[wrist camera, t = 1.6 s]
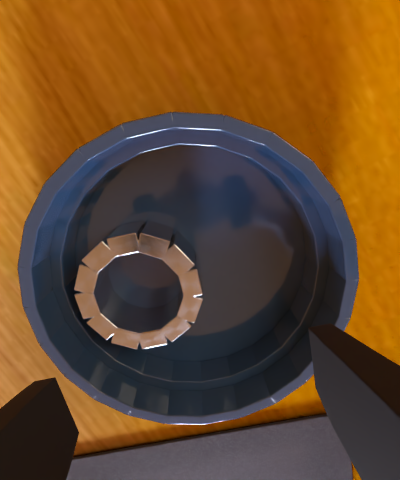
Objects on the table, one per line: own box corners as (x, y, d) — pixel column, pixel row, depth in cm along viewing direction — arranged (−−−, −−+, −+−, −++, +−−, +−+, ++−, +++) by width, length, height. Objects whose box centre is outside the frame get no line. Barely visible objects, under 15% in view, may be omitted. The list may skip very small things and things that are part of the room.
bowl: (306, 91, 15) (345, 71, 11) (332, 346, 19) (367, 395, 15) (16, 158, 16) (-42, 160, 12) (104, 390, 20) (83, 447, 16)
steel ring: (187, 210, 16) (186, 221, 14) (210, 310, 18) (213, 336, 15) (77, 234, 16) (55, 249, 14) (110, 330, 18) (97, 359, 16)
